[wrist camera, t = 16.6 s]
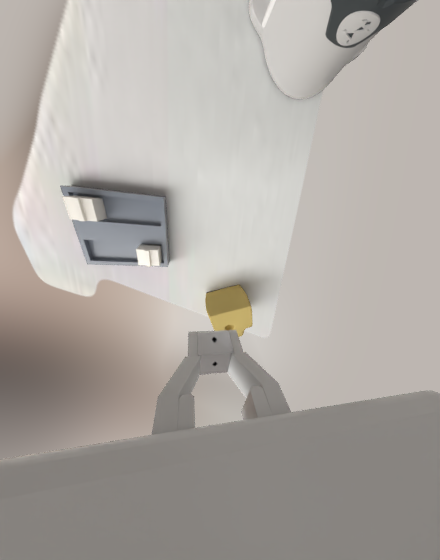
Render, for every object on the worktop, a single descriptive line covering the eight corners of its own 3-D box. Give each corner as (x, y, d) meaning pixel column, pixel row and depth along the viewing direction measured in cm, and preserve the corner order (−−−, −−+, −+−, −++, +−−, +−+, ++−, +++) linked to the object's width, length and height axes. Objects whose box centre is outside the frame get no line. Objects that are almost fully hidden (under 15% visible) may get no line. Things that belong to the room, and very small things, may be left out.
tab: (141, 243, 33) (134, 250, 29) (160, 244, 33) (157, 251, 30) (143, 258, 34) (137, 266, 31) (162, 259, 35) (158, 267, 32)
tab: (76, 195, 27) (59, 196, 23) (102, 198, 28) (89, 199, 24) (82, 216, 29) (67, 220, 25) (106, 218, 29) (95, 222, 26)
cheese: (244, 308, 49) (255, 334, 41) (211, 317, 49) (215, 344, 40) (240, 282, 44) (252, 304, 35) (203, 291, 43) (206, 316, 35)
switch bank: (71, 185, 27) (60, 185, 25) (165, 196, 30) (163, 197, 28) (94, 259, 34) (87, 264, 32) (169, 262, 37) (167, 266, 35)
